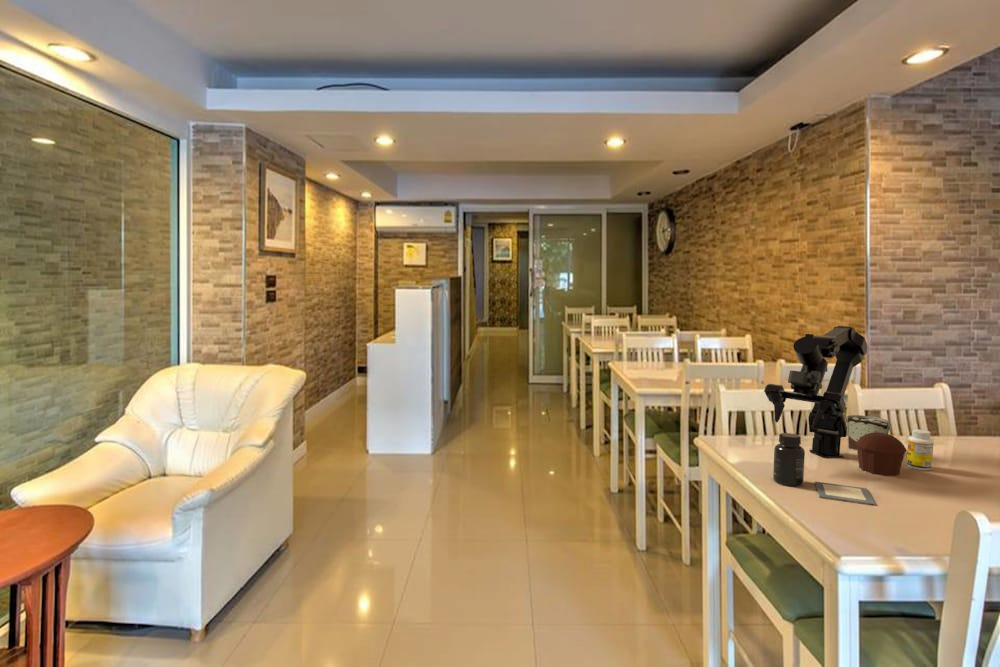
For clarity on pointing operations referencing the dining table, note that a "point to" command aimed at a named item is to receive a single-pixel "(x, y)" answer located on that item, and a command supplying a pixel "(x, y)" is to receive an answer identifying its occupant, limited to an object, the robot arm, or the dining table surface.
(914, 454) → the supplement bottle
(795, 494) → the dining table surface
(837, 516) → the dining table surface
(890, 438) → the muffin
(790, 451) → the supplement bottle
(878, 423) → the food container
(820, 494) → the foundation tile
